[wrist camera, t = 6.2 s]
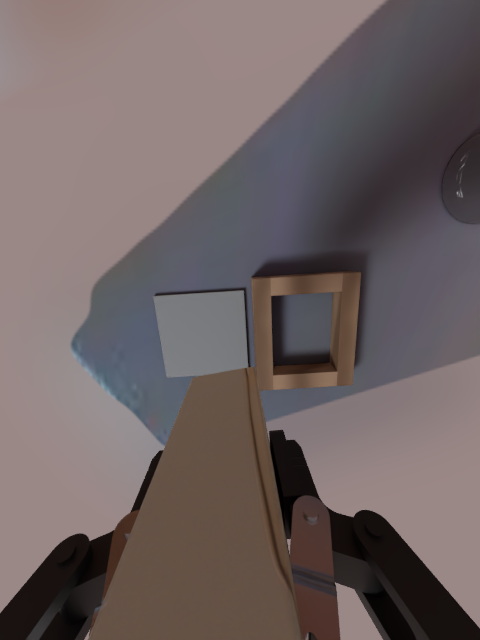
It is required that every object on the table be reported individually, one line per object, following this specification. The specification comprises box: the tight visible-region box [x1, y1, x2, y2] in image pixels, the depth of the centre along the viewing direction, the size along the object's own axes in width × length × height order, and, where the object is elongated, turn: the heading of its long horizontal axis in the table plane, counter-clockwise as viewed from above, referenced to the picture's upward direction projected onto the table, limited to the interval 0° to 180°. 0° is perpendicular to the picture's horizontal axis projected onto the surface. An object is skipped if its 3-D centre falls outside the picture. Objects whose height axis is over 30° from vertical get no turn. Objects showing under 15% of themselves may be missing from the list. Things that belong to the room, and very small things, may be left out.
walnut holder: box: [251, 271, 361, 391], centre depth 28 cm, size 12×14×2 cm
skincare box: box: [88, 367, 304, 640], centre depth 10 cm, size 6×4×12 cm
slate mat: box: [153, 290, 248, 377], centre depth 29 cm, size 11×11×1 cm
